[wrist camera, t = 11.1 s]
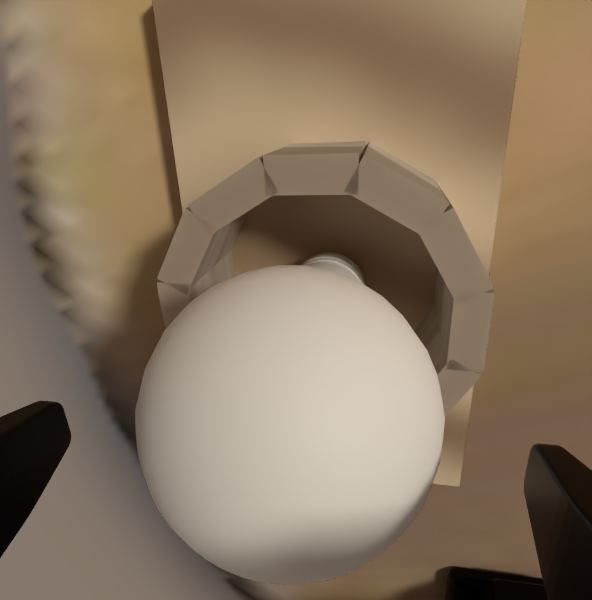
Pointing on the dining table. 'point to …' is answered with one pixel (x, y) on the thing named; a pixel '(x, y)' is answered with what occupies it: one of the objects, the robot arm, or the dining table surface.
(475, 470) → the dining table surface
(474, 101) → the lamp base
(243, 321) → the lightbulb
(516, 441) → the dining table surface
